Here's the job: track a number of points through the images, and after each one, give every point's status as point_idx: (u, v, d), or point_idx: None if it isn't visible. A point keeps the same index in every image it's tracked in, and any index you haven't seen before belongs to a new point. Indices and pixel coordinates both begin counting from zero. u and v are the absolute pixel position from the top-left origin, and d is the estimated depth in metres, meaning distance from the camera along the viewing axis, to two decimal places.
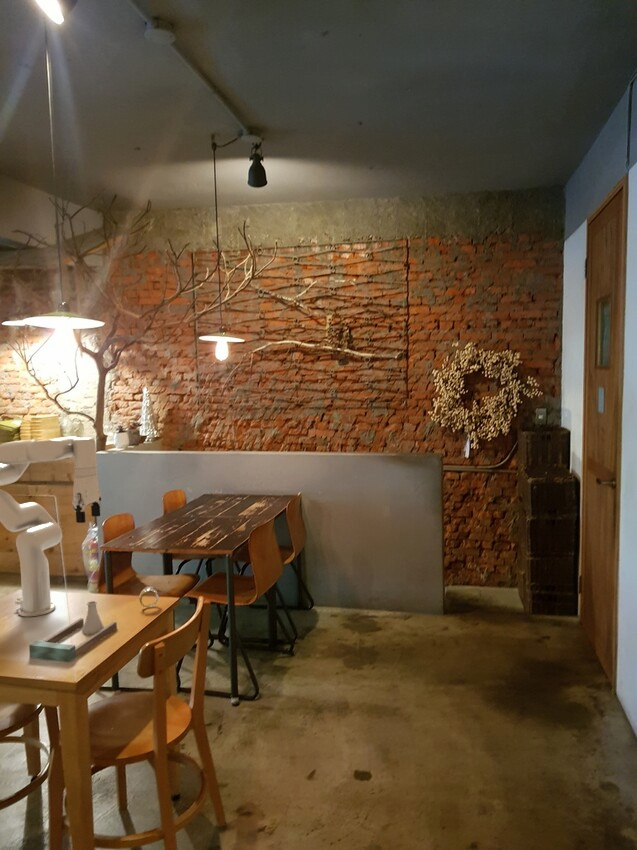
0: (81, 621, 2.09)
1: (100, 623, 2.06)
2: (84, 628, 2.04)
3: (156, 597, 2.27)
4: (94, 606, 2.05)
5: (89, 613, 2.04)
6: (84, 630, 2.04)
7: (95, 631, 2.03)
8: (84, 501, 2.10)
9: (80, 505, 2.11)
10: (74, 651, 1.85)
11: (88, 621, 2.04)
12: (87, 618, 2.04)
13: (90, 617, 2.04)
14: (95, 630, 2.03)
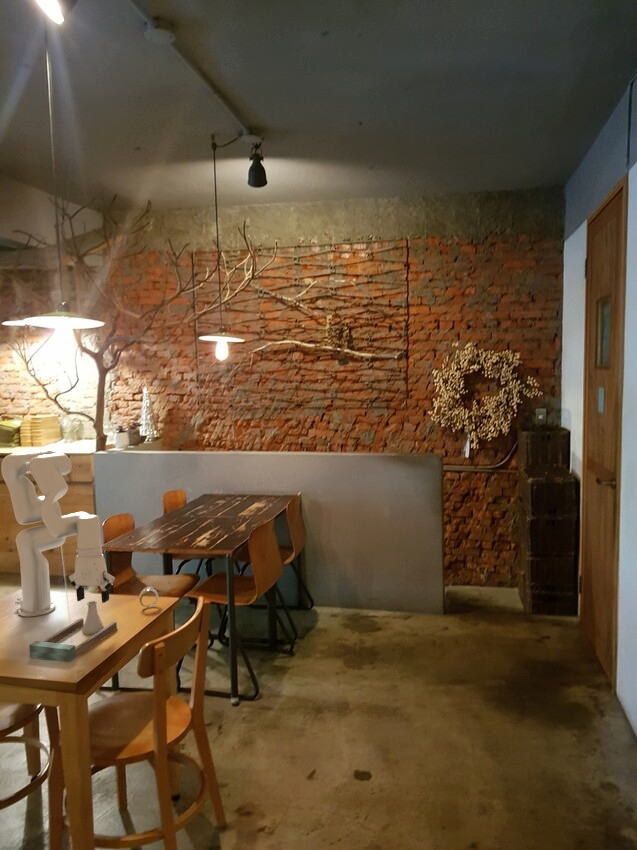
0: (81, 621, 2.09)
1: (100, 623, 2.06)
2: (84, 628, 2.04)
3: (156, 597, 2.27)
4: (94, 606, 2.05)
5: (89, 613, 2.04)
6: (84, 630, 2.04)
7: (95, 631, 2.03)
8: (107, 578, 2.05)
9: None
10: (74, 651, 1.85)
11: (88, 621, 2.04)
12: (87, 618, 2.04)
13: (90, 617, 2.04)
14: (95, 630, 2.03)
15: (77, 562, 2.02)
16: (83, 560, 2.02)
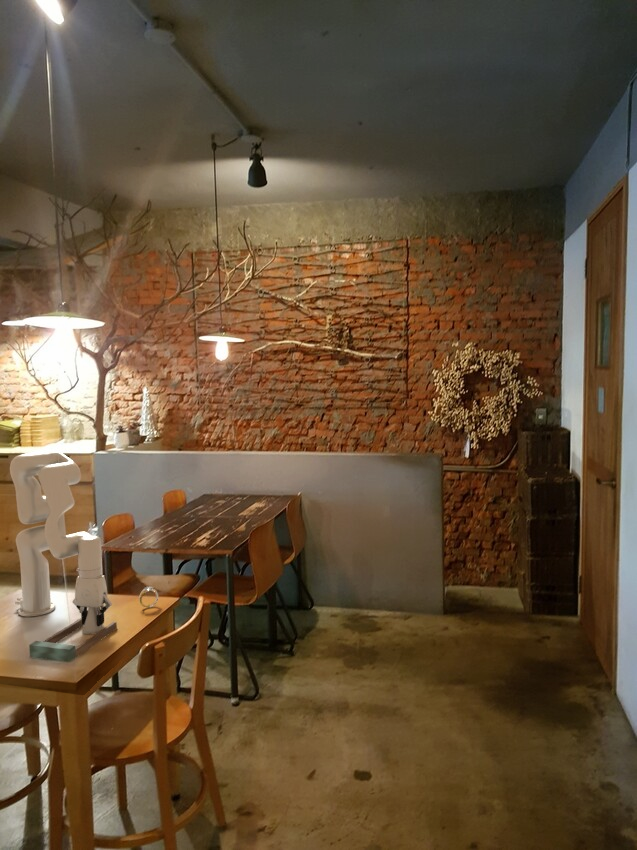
0: (81, 621, 2.09)
1: None
2: (84, 628, 2.04)
3: (156, 597, 2.28)
4: None
5: (89, 613, 2.04)
6: (84, 630, 2.04)
7: (95, 631, 2.03)
8: None
9: None
10: (74, 651, 1.85)
11: (88, 621, 2.04)
12: (87, 618, 2.04)
13: (90, 617, 2.04)
14: (95, 630, 2.03)
15: (78, 583, 2.03)
16: (84, 581, 2.02)
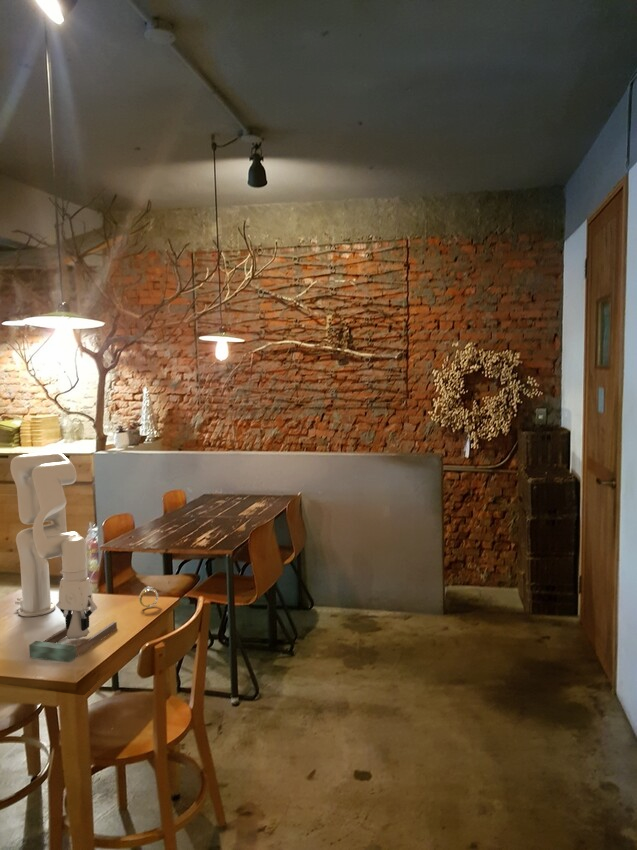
0: None
1: None
2: (68, 632, 1.96)
3: (156, 597, 2.27)
4: None
5: (73, 617, 1.96)
6: (68, 634, 1.96)
7: (80, 635, 1.96)
8: None
9: None
10: (74, 651, 1.85)
11: (72, 625, 1.96)
12: (71, 622, 1.96)
13: (75, 621, 1.96)
14: (79, 635, 1.96)
15: (61, 585, 1.95)
16: (68, 584, 1.94)
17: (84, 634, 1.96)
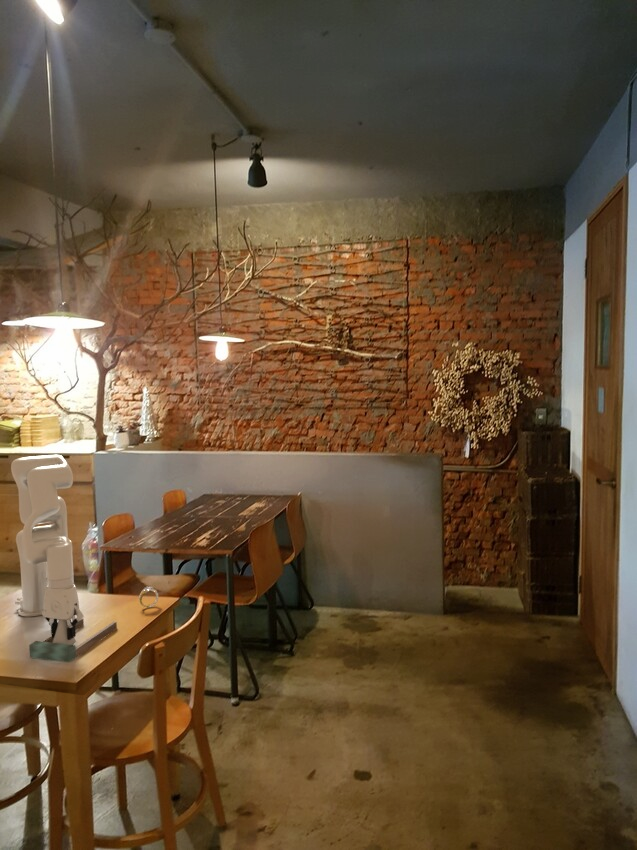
0: (81, 621, 2.09)
1: None
2: (54, 641, 1.89)
3: (156, 597, 2.27)
4: None
5: (59, 625, 1.90)
6: None
7: None
8: None
9: None
10: (74, 651, 1.85)
11: (58, 634, 1.89)
12: (57, 631, 1.90)
13: (60, 630, 1.89)
14: None
15: (47, 593, 1.89)
16: (53, 591, 1.88)
17: (70, 643, 1.90)
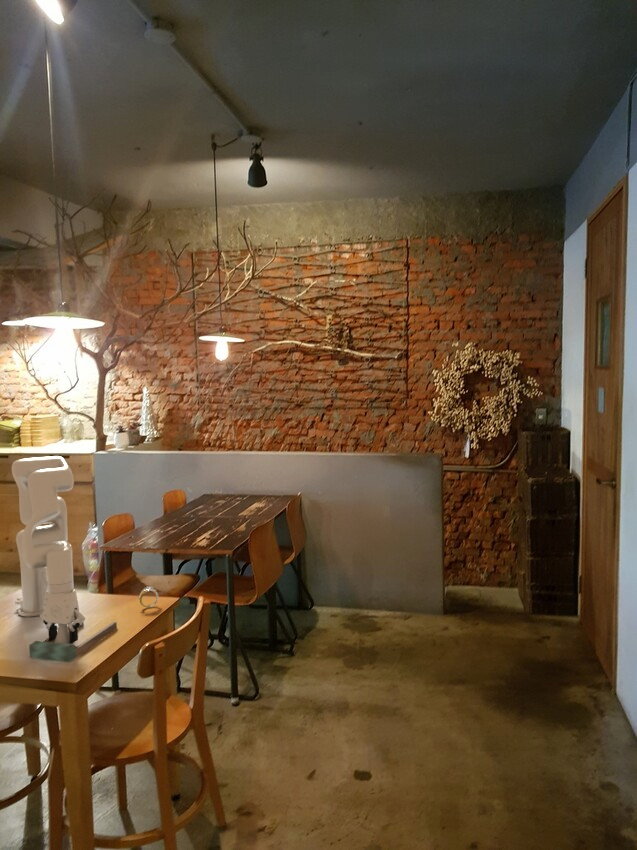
0: None
1: None
2: None
3: (156, 597, 2.27)
4: None
5: (59, 631, 1.90)
6: None
7: None
8: None
9: None
10: (74, 651, 1.85)
11: (58, 640, 1.89)
12: (57, 636, 1.90)
13: (60, 636, 1.89)
14: None
15: (46, 598, 1.88)
16: (53, 596, 1.88)
17: None
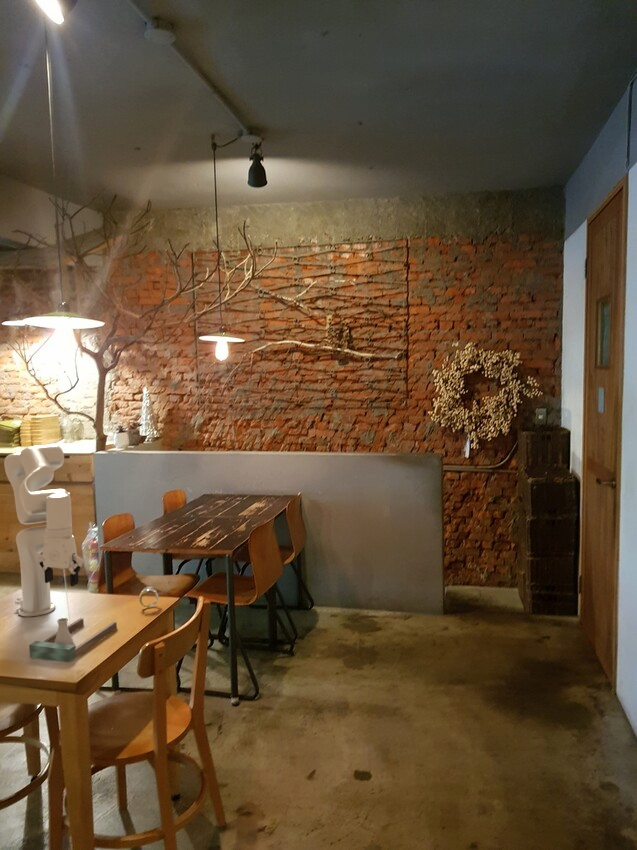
0: (81, 621, 2.09)
1: (71, 642, 1.91)
2: None
3: (156, 597, 2.28)
4: (65, 624, 1.90)
5: (59, 631, 1.90)
6: None
7: None
8: None
9: None
10: (74, 651, 1.85)
11: (58, 640, 1.89)
12: (57, 637, 1.90)
13: (60, 636, 1.89)
14: None
15: (45, 543, 1.92)
16: (52, 541, 1.91)
17: None
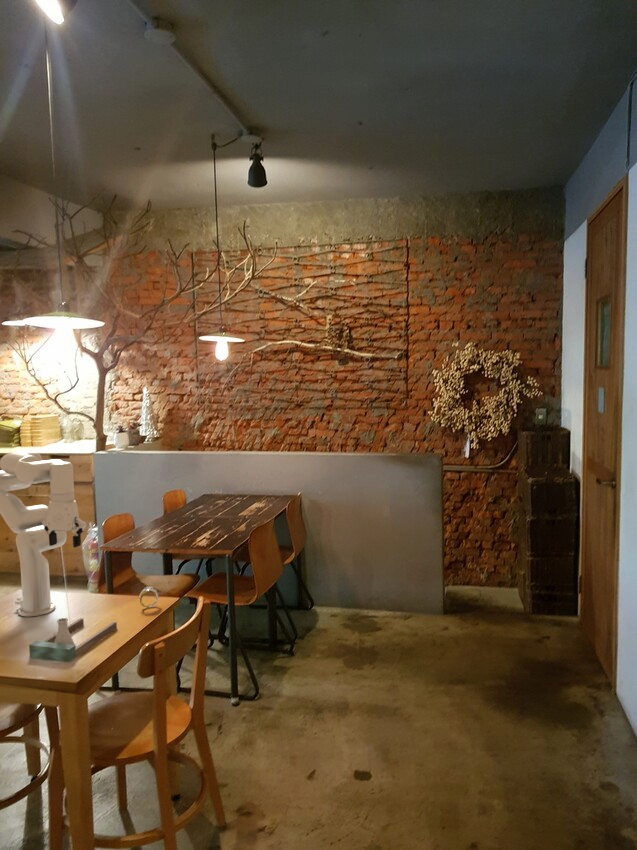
0: (81, 621, 2.09)
1: (71, 642, 1.91)
2: None
3: (156, 597, 2.27)
4: (65, 624, 1.90)
5: (59, 631, 1.90)
6: None
7: None
8: (79, 523, 2.10)
9: None
10: (74, 651, 1.85)
11: (58, 640, 1.89)
12: (57, 637, 1.90)
13: (60, 636, 1.89)
14: None
15: (50, 507, 2.07)
16: (55, 505, 2.06)
17: None
